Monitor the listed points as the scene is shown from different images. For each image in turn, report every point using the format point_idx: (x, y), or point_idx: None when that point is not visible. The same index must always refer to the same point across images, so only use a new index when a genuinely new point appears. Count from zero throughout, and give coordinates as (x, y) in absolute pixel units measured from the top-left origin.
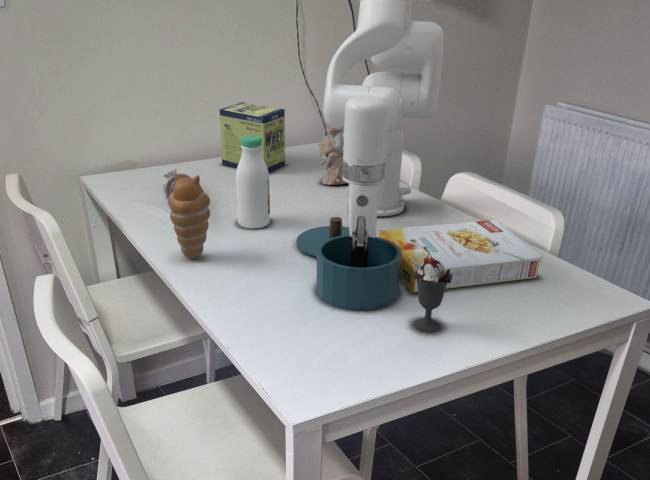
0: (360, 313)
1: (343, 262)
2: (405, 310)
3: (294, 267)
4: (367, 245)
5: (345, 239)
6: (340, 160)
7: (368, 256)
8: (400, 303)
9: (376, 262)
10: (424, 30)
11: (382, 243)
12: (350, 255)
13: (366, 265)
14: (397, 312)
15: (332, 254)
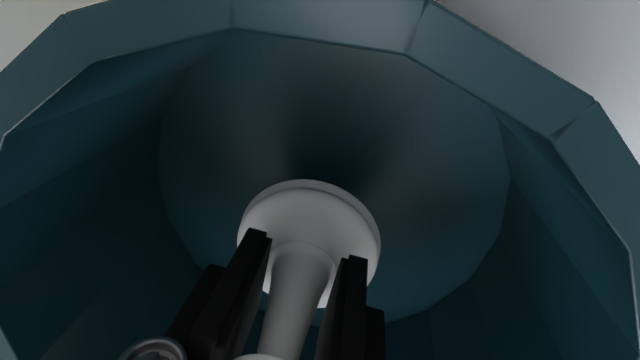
0: None
1: (137, 248)
2: (606, 7)
3: None
4: (221, 328)
5: (37, 347)
6: None
7: (103, 147)
8: (510, 14)
9: (143, 94)
10: None
11: (52, 112)
12: (105, 240)
13: (366, 275)
14: (607, 63)
15: None
